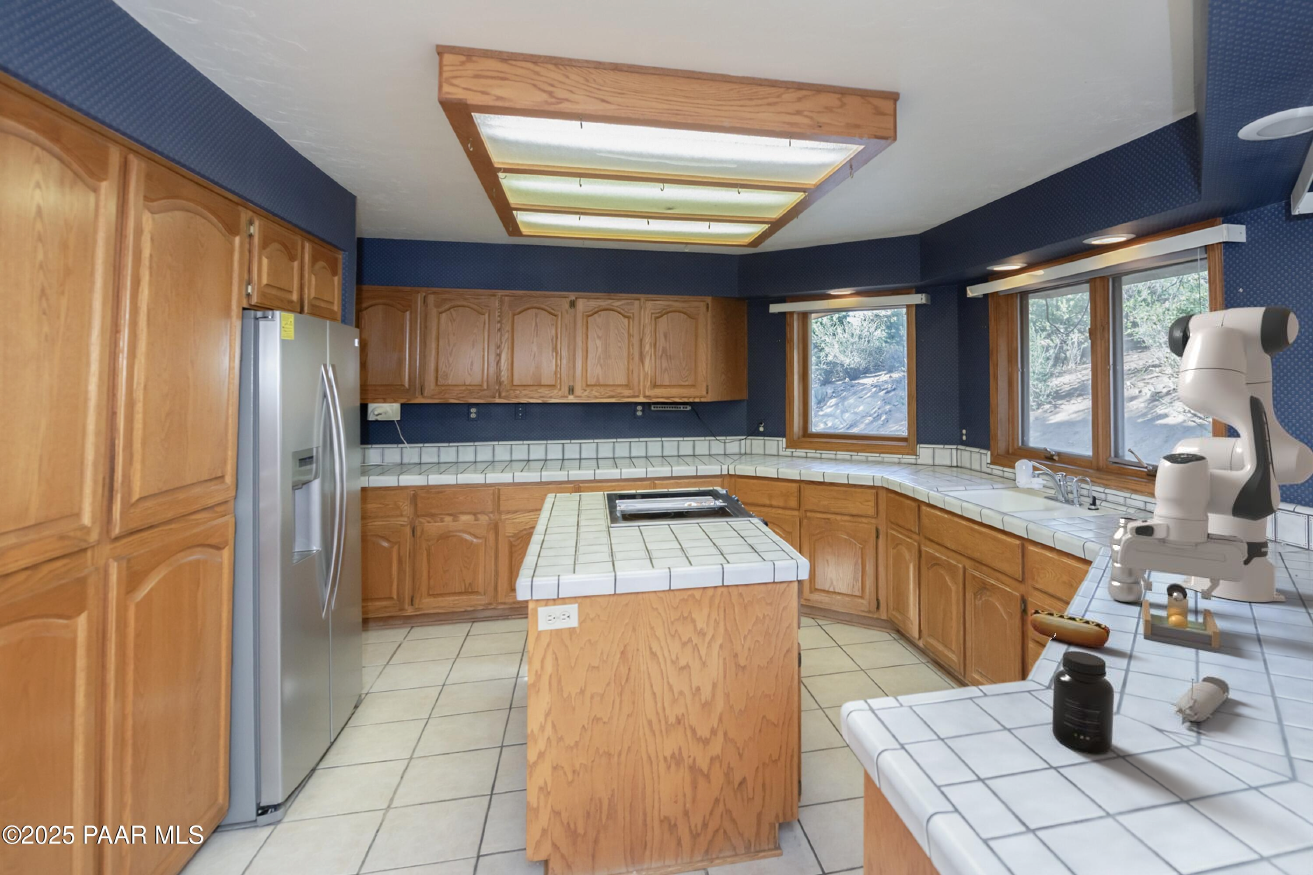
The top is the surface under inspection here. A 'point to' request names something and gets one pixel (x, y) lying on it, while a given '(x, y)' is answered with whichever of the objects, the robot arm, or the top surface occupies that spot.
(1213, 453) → the robot arm
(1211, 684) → the torpedo
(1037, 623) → the hot dog
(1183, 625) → the ball
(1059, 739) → the supplement bottle
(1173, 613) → the glass stem black base
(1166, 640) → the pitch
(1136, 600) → the plastic bottle
